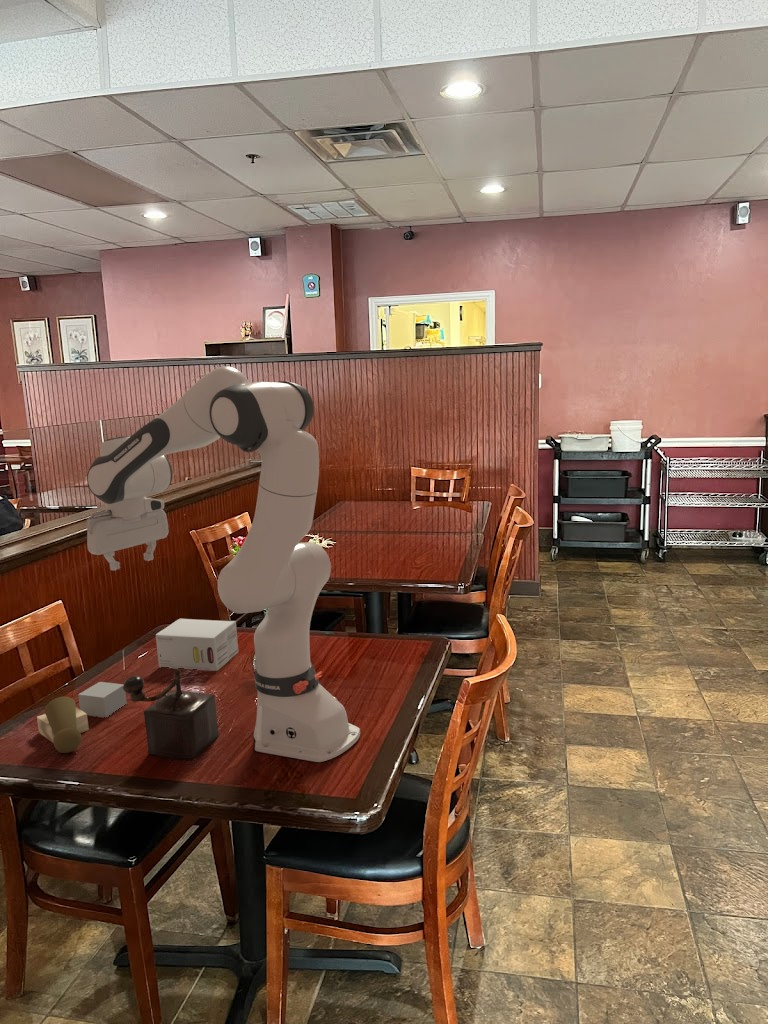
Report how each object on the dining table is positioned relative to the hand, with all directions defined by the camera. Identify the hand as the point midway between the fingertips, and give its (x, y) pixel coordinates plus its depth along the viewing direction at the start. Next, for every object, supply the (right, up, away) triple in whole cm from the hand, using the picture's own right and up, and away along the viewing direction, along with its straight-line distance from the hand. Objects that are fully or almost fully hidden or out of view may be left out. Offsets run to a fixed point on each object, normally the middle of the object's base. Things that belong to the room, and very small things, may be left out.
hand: (132, 564), depth 168 cm
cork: (-9, -29, -17) cm, 35 cm away
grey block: (-5, -33, -4) cm, 33 cm away
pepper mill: (+17, -36, -24) cm, 47 cm away
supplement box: (+10, -27, +23) cm, 37 cm away
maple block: (-10, -35, -14) cm, 39 cm away
